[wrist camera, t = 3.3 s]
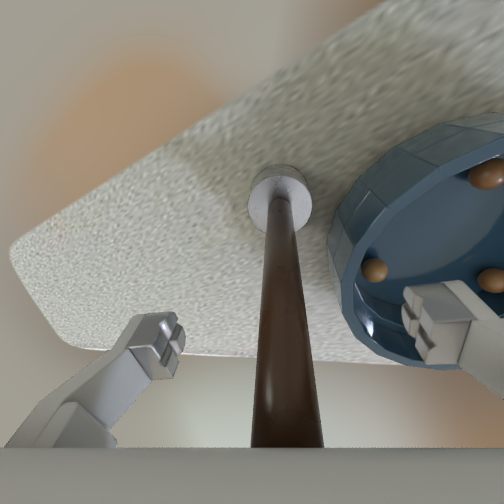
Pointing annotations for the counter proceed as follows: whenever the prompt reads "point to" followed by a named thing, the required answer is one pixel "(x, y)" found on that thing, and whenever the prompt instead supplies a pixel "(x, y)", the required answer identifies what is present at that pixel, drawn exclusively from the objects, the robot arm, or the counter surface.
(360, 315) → the bowl
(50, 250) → the counter surface
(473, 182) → the bead
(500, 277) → the bead
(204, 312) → the counter surface
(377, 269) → the bead
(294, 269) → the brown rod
